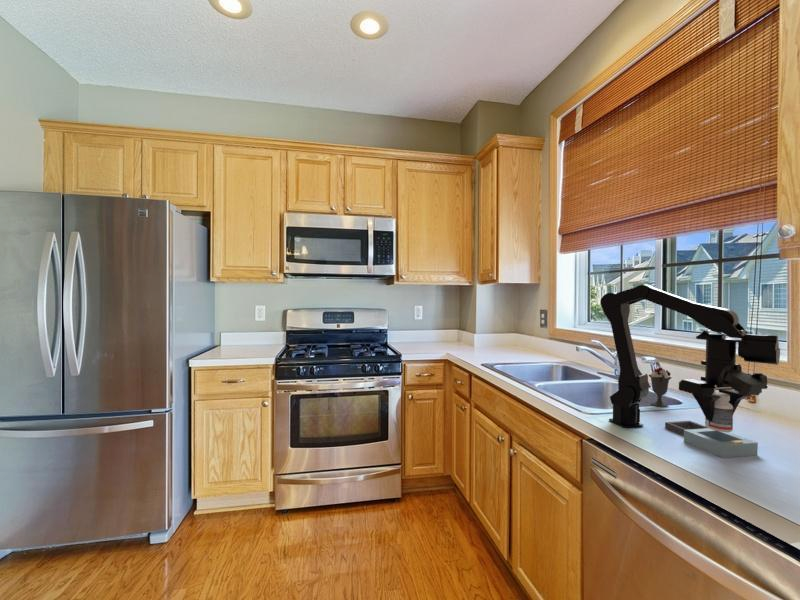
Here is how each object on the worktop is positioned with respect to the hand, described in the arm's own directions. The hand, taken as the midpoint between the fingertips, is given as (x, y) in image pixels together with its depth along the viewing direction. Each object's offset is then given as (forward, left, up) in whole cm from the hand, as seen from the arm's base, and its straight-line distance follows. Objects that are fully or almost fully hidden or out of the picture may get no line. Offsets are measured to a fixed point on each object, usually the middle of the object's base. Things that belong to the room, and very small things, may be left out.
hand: (718, 419), depth 93 cm
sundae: (+16, +33, -7) cm, 37 cm away
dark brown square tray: (+3, +10, -7) cm, 12 cm away
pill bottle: (0, 0, -2) cm, 2 cm away
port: (0, 0, -7) cm, 7 cm away
